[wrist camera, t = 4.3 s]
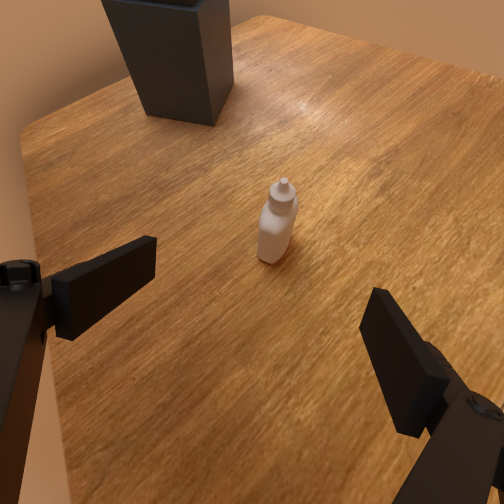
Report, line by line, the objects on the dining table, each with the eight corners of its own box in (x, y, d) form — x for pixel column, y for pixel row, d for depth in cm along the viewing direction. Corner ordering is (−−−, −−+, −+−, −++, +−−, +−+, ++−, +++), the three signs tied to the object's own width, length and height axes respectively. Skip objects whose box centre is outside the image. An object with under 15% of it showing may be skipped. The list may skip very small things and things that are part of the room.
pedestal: (146, 114, 44) (85, -38, 28) (172, 73, 50) (133, -76, 33) (214, 126, 43) (191, -26, 27) (233, 82, 48) (225, -68, 32)
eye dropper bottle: (245, 243, 34) (243, 178, 23) (281, 222, 35) (294, 151, 24) (265, 269, 32) (272, 213, 21) (301, 246, 34) (325, 182, 23)
